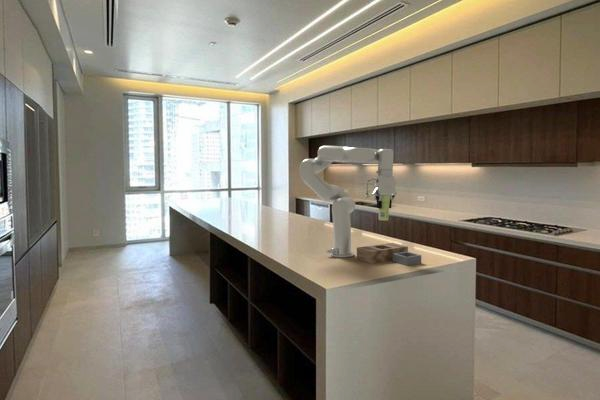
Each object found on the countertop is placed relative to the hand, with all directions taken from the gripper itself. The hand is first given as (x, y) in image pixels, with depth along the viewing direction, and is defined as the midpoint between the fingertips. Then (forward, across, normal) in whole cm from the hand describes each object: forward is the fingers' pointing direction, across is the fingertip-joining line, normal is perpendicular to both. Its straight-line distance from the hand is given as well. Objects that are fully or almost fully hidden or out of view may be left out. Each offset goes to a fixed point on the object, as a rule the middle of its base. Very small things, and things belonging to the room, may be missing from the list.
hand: (384, 207), depth 195 cm
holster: (+26, +5, -12) cm, 30 cm away
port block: (+27, 0, 0) cm, 27 cm away
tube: (+7, 0, 0) cm, 7 cm away
